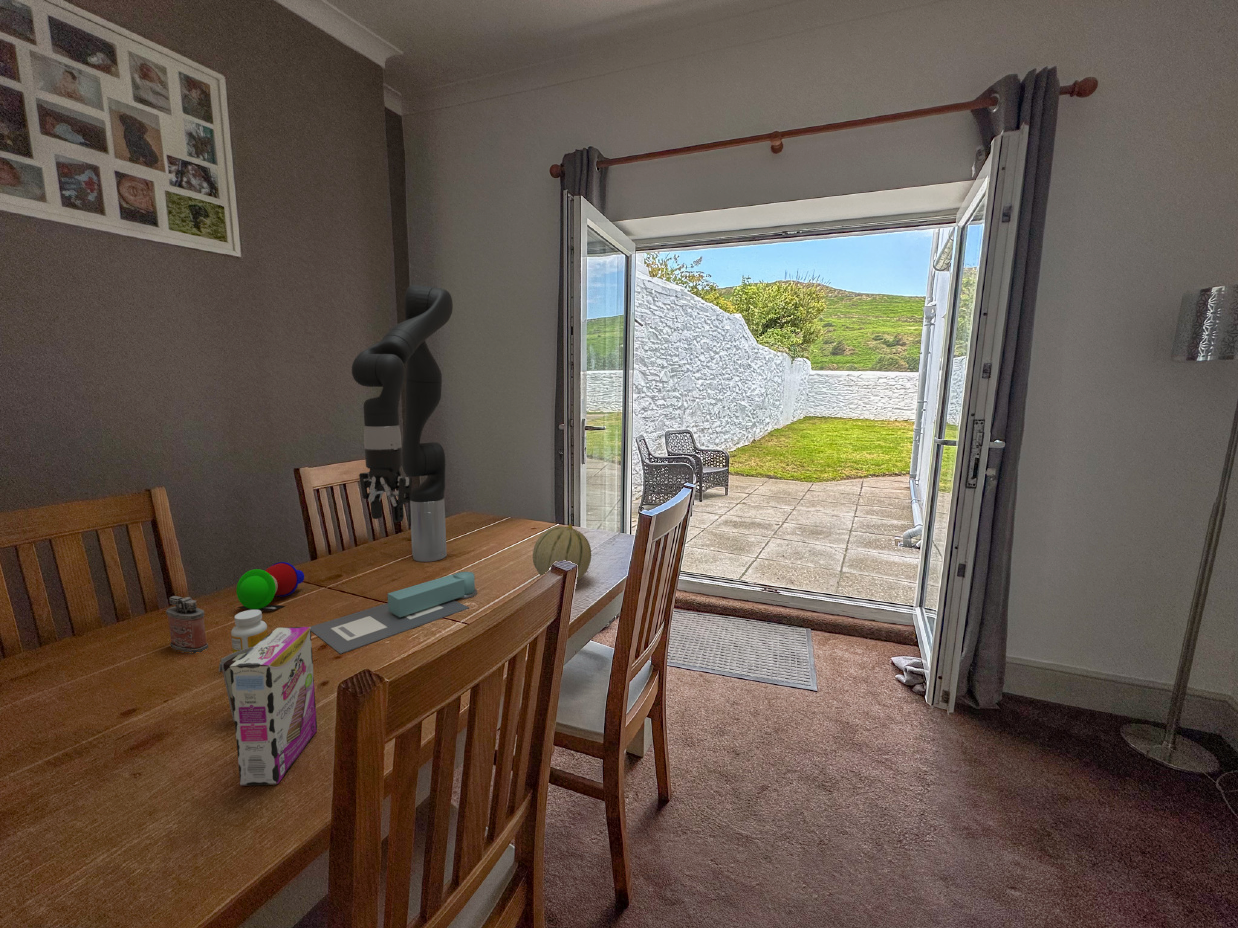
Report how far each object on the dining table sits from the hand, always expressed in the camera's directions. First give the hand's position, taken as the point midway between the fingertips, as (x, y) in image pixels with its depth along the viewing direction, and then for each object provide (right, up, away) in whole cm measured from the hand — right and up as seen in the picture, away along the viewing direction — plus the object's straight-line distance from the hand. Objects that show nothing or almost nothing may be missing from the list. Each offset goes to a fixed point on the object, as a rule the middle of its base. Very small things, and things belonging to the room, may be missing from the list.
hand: (387, 519), depth 123 cm
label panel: (+3, -21, -5) cm, 22 cm away
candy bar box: (+6, -28, -48) cm, 56 cm away
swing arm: (+10, -19, +3) cm, 22 cm away
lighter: (-30, -23, -19) cm, 42 cm away
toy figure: (-28, -20, +3) cm, 34 cm away
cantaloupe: (+38, -18, +16) cm, 45 cm away
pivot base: (+15, -19, +8) cm, 25 cm away
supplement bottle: (-14, -24, -25) cm, 37 cm away
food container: (-1, -26, -38) cm, 46 cm away
